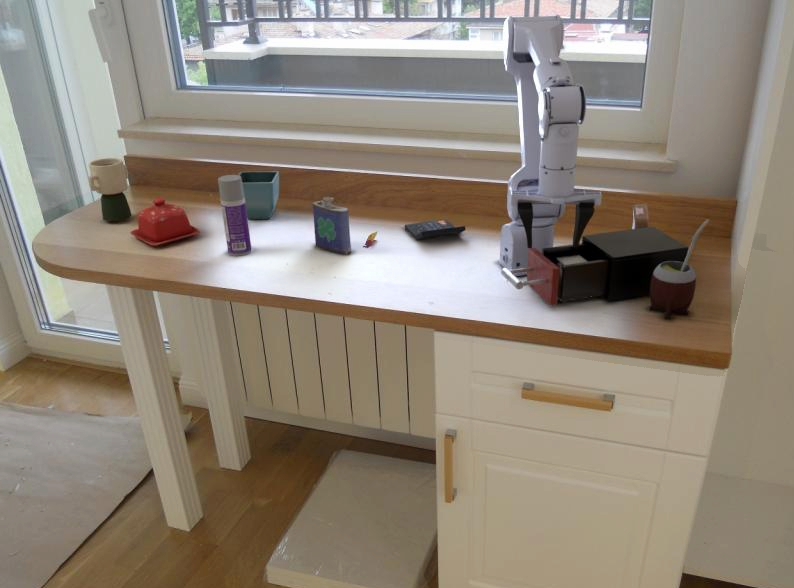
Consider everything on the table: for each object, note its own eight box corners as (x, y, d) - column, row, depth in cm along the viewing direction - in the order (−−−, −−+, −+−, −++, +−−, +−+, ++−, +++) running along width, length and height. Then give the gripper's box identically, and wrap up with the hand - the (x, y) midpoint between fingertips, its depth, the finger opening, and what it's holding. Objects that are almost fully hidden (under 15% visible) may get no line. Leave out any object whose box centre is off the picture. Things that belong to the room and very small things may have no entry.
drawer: (519, 310, 133) (520, 273, 130) (496, 288, 142) (497, 252, 138) (621, 295, 138) (625, 258, 135) (593, 273, 146) (597, 239, 143)
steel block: (565, 290, 138) (567, 266, 135) (554, 281, 141) (555, 257, 139) (588, 287, 139) (590, 263, 136) (576, 278, 142) (579, 254, 140)
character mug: (123, 210, 187) (111, 154, 180) (147, 214, 184) (135, 157, 177) (88, 225, 178) (74, 166, 172) (112, 229, 175) (98, 170, 169)
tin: (647, 266, 151) (653, 223, 147) (630, 265, 151) (635, 222, 147) (644, 238, 164) (649, 198, 159) (628, 237, 164) (633, 197, 160)
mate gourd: (644, 317, 132) (656, 230, 124) (650, 298, 138) (661, 214, 131) (691, 323, 130) (706, 235, 122) (695, 304, 136) (710, 218, 128)
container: (256, 249, 163) (246, 176, 155) (242, 257, 159) (232, 182, 152) (237, 246, 165) (227, 173, 157) (223, 254, 161) (212, 180, 153)
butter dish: (152, 251, 163) (144, 210, 159) (128, 237, 171) (120, 198, 166) (203, 237, 170) (197, 198, 165) (178, 224, 177) (171, 186, 173)
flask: (354, 251, 160) (350, 199, 155) (343, 256, 159) (339, 203, 153) (321, 242, 166) (317, 191, 160) (311, 246, 164) (306, 195, 158)
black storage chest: (608, 302, 137) (613, 257, 133) (578, 278, 146) (582, 235, 142) (681, 291, 141) (688, 247, 136) (647, 268, 150) (653, 226, 146)
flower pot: (277, 222, 177) (272, 182, 173) (237, 223, 177) (232, 182, 173) (283, 209, 185) (279, 170, 180) (245, 210, 185) (240, 171, 180)
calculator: (445, 223, 174) (445, 209, 173) (465, 240, 165) (465, 226, 163) (404, 228, 172) (404, 215, 170) (422, 246, 162) (422, 232, 161)
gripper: (513, 172, 125) (509, 254, 132) (607, 172, 124) (599, 255, 131) (511, 160, 131) (508, 239, 138) (601, 160, 130) (593, 239, 137)
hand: (552, 246), depth 135 cm, fingers open, 7 cm apart
